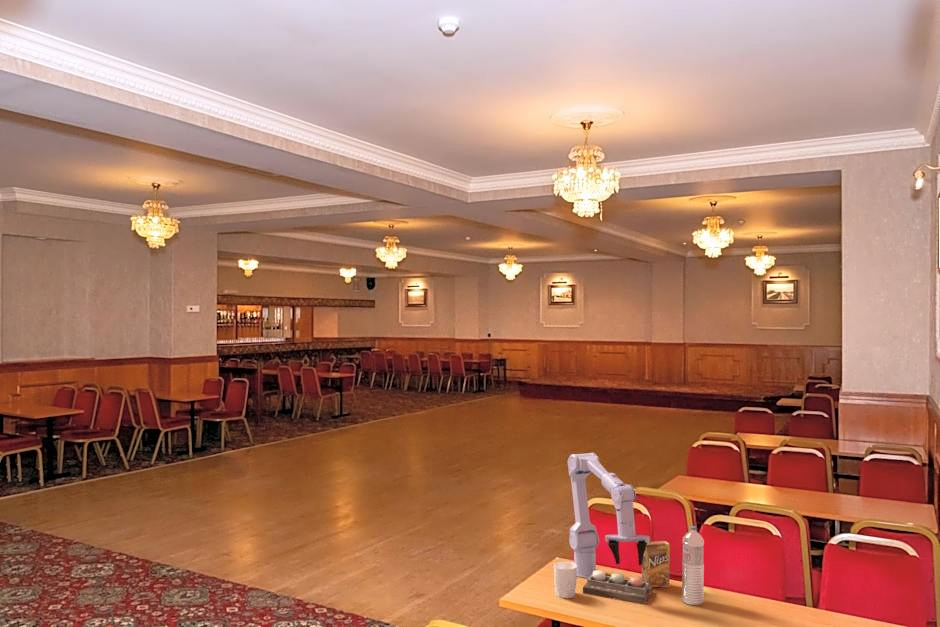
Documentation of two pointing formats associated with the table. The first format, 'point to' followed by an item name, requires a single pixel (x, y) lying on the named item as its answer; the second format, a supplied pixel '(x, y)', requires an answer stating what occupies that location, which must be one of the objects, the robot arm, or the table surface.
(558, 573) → the white cup
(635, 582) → the terracotta button
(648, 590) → the button panel
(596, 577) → the off-white button
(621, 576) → the sage button
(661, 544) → the candy box
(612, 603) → the table surface
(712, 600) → the table surface
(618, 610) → the table surface
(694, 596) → the water bottle
